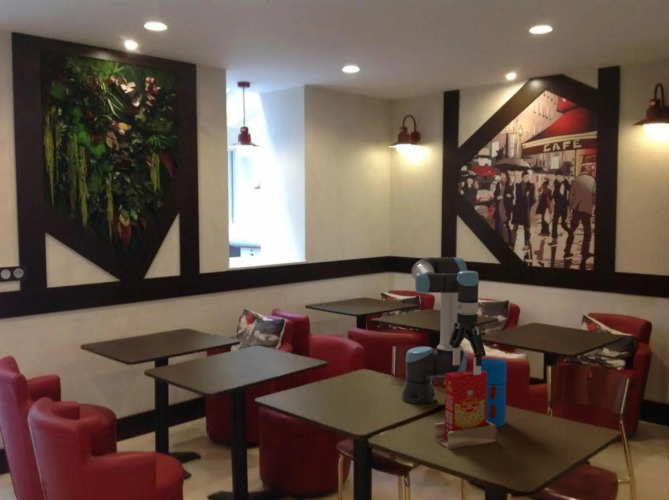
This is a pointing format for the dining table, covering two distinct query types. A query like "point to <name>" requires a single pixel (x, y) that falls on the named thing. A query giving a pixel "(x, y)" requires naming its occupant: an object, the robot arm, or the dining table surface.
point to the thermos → (495, 390)
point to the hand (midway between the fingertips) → (466, 369)
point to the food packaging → (465, 400)
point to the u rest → (466, 435)
